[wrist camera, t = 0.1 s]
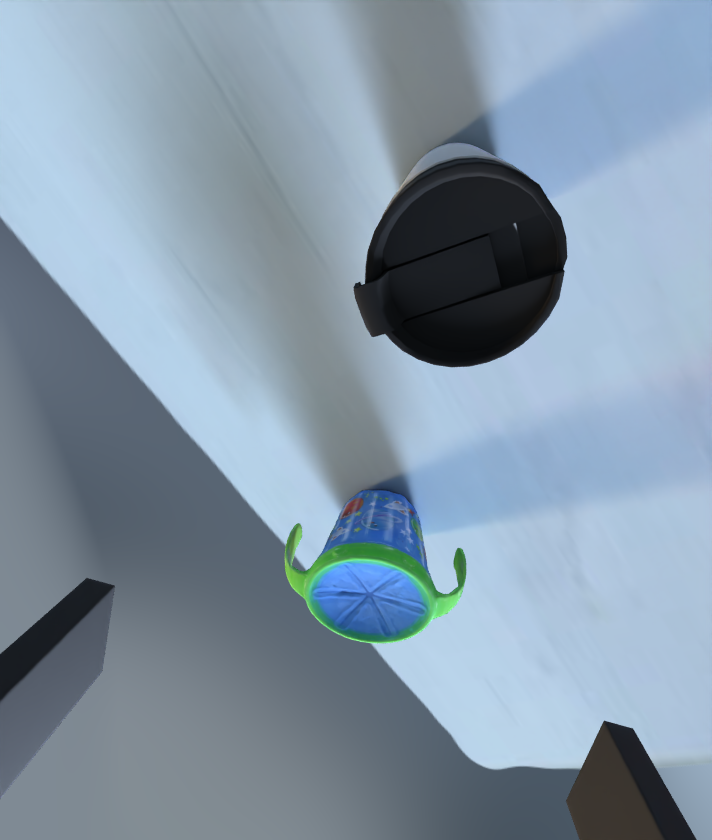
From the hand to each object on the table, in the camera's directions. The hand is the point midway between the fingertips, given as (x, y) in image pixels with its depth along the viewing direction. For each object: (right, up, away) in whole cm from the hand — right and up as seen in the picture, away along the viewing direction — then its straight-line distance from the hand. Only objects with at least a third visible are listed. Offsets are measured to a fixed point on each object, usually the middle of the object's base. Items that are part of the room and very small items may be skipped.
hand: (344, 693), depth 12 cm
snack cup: (+3, -2, +34) cm, 34 cm away
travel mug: (+6, +22, +19) cm, 29 cm away
